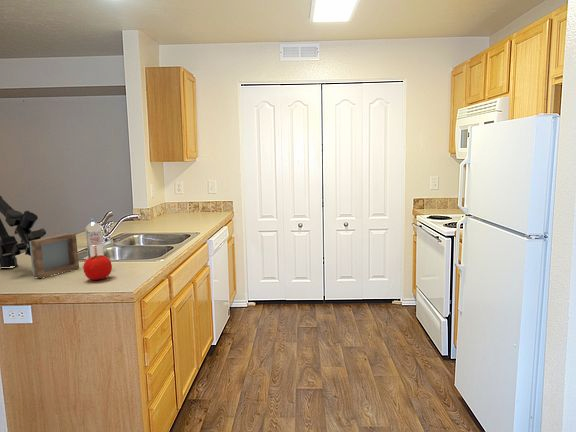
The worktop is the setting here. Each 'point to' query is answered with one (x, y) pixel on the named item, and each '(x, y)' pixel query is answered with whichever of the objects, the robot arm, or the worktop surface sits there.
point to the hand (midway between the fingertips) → (42, 259)
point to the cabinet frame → (73, 265)
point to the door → (53, 254)
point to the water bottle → (94, 239)
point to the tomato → (97, 267)
